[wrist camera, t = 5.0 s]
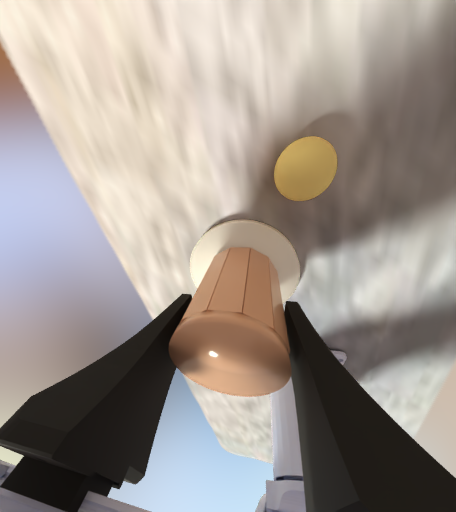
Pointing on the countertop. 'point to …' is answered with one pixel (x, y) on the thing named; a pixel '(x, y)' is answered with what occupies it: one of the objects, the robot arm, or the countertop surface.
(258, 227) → the dish
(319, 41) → the countertop surface
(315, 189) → the ball
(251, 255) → the cup
